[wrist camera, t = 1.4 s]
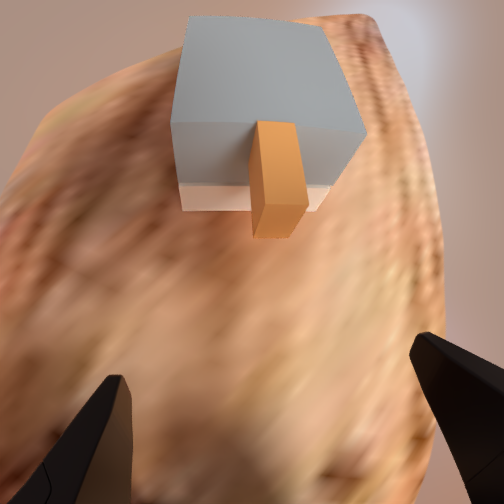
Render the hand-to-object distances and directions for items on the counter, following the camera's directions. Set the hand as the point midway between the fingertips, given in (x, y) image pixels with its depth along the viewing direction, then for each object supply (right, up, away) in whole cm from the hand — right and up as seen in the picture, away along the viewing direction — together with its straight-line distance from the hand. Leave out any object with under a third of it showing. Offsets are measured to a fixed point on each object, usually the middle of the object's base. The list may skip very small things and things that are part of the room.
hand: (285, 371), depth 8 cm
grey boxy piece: (-1, +12, +14) cm, 18 cm away
